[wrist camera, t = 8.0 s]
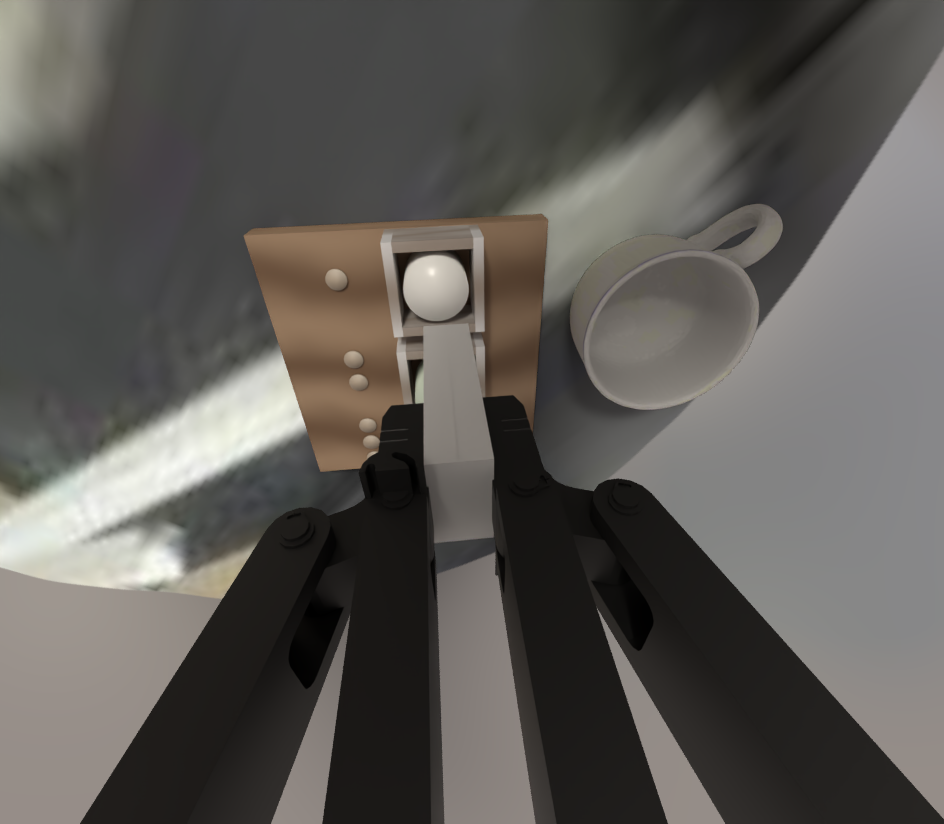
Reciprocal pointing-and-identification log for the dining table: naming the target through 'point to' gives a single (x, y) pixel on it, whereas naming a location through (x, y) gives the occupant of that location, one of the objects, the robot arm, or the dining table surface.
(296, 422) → the dining table surface
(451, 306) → the button one
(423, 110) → the dining table surface
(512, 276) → the button board
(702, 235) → the teacup
